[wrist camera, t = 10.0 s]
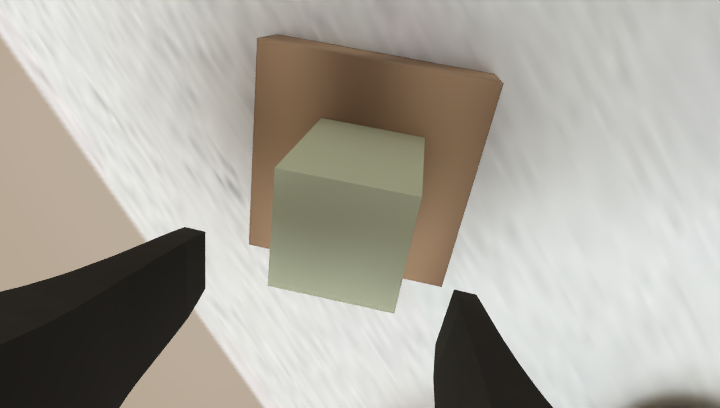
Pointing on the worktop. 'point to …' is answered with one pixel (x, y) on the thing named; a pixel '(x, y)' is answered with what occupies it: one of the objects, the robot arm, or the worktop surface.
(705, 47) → the worktop surface
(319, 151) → the sage block
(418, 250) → the walnut block
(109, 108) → the worktop surface
